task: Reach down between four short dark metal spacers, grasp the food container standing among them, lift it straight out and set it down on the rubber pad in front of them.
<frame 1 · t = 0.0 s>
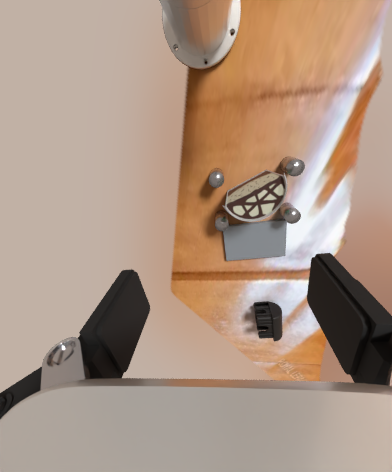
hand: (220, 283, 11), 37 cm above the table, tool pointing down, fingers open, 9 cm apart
pad: (253, 240, 50), on the table
end cap: (266, 311, 62), on the table
food container: (251, 192, 45), on the table
spacers: (251, 192, 45), on the table
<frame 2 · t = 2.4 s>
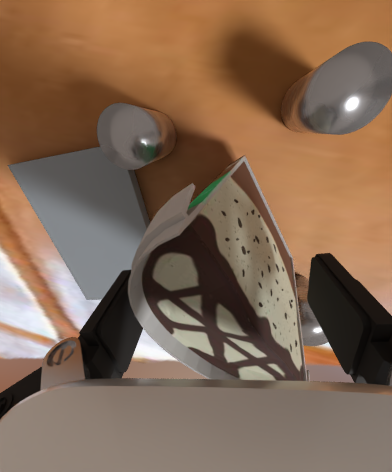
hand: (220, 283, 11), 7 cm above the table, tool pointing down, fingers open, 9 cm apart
pad: (104, 235, 19), on the table
food container: (234, 223, 16), on the table
spacers: (234, 222, 17), on the table
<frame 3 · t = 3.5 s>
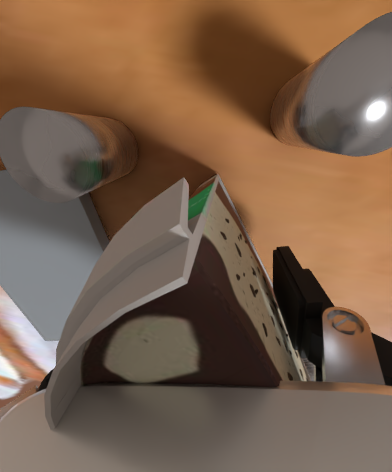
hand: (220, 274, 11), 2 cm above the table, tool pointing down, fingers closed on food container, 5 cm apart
pad: (60, 267, 16), on the table
food container: (208, 254, 14), on the table, touching gripper
spacers: (217, 252, 13), on the table
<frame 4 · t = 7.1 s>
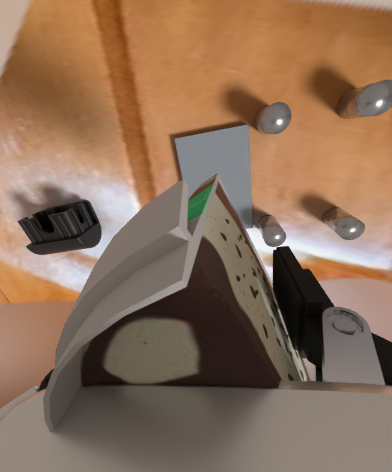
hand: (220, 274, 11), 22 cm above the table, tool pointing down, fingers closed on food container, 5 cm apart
pad: (217, 185, 30), on the table
end cap: (77, 221, 36), on the table
food container: (208, 254, 14), point 19 cm above the table, touching gripper
spacers: (302, 172, 28), on the table
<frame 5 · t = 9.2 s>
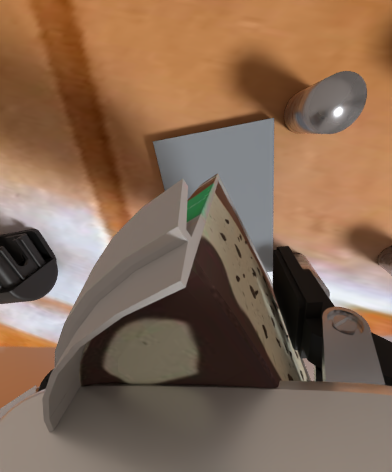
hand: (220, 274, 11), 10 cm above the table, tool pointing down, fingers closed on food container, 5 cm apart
pad: (220, 211, 20), on the table
end cap: (26, 255, 26), on the table
food container: (208, 254, 14), point 8 cm above the table, touching gripper
spacers: (355, 194, 18), on the table
when the fingers open (4 cm above the table, at t = 10.8 s): food container drops 1 cm, resting on pad.
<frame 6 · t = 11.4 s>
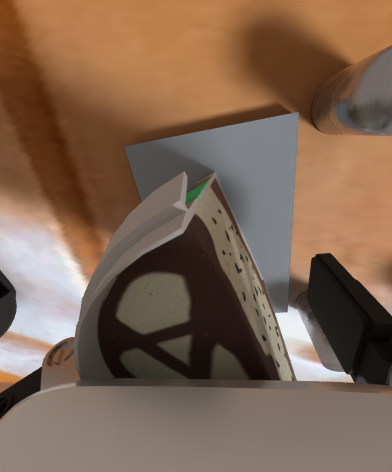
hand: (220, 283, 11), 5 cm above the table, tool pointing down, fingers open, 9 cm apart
pad: (219, 237, 15), on the table
food container: (203, 246, 15), point 1 cm above the table, touching pad
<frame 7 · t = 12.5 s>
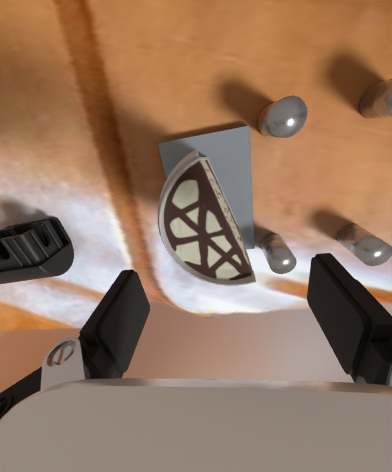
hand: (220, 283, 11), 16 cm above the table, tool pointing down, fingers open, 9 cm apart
pad: (211, 199, 25), on the table
end cap: (45, 241, 31), on the table
food container: (201, 203, 25), point 1 cm above the table, touching pad
spacers: (314, 184, 23), on the table
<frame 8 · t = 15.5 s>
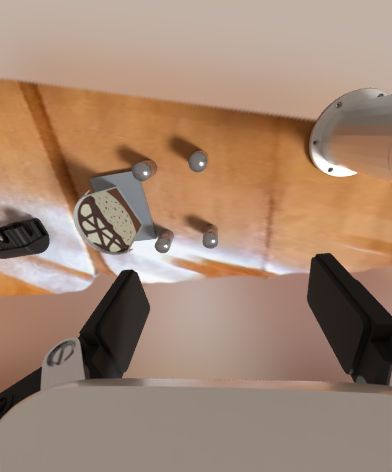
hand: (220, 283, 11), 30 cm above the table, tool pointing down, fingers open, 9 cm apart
pad: (126, 209, 42), on the table
end cap: (32, 233, 48), on the table
food container: (119, 211, 42), point 1 cm above the table, touching pad
spacers: (182, 201, 40), on the table
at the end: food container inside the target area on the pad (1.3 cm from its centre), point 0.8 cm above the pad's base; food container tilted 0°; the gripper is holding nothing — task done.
